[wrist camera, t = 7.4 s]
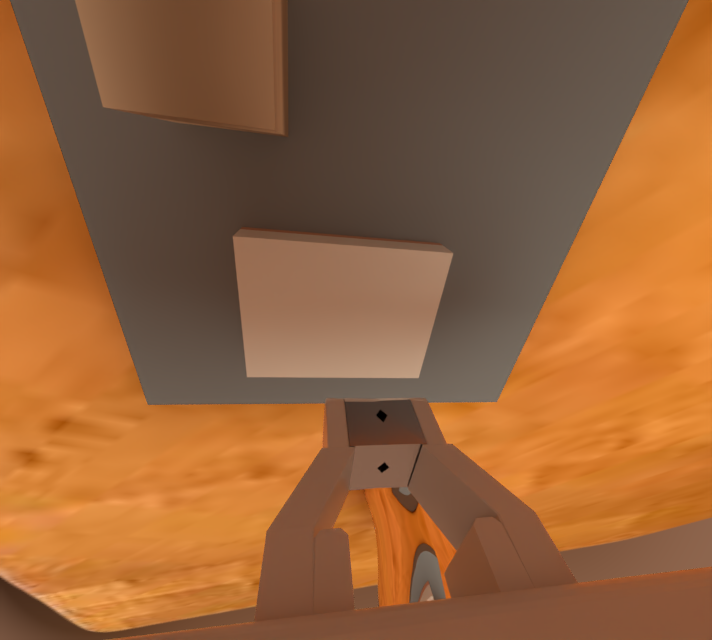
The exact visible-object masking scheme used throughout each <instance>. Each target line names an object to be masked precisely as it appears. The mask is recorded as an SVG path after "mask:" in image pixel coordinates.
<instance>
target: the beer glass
mask: <svg viewBox="0 0 712 640" xmlns="http://www.w3.org/2000/svg"><path fill="white" fill-rule="evenodd" d="M364 493H365V496H366V500H367V503H368V506H369V509H370V512H371V515H372V519H373V523H374V529H375V533H376V541H377V553H378V607H382V606H390V605H398V604H407V603H415V602H423V601H431V600H440V599H448V598H451V596H450V592H449V589H448V586H447V582H446V579H445V575H444V573H445V571H446V569H447V567H448V565H449V564H450V562H451V560H452V558H453V557H454V555H455V553H456V549H455V548H454V547H453V546H452V544H451V543H450V542H449V541H448V539H447V538H446V537H445V535H444V534H443V533H442V532H441V530H440V529H439V528H438V527H437V525H436V524H435V523H434V522H433V520H432V519H431V518H430V517H429V515H428V514H427V513H426V511H425V510H424V509H423V508H422V506H421V505H420V504H419V503H418V501H417V500H416V499H415V498H414V496H413V495H412V494H411V492H410V491H409V490H408V487H396V488H372V489H364Z"/></svg>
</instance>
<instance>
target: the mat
mask: <svg viewBox="0 0 712 640" xmlns="http://www.w3.org/2000/svg"><path fill="white" fill-rule="evenodd" d="M688 1H689V0H288V137H283V136H276V135H268V134H260V133H253V132H245V131H238V130H230V129H222V128H215V127H207V126H199V125H192V124H184V123H176V122H171V121H166V120H161V119H157V118H152V117H147V116H143V115H138V114H133V113H128V112H124V111H119V110H114V109H110V108H105V107H103V105H102V101H101V98H100V94H99V90H98V86H97V82H96V79H95V75H94V71H93V67H92V63H91V60H90V56H89V52H88V48H87V44H86V41H85V37H84V33H83V29H82V25H81V21H80V18H79V14H78V10H77V6H76V2H75V0H10V2H11V4H12V7H13V10H14V13H15V16H16V19H17V22H18V25H19V28H20V31H21V34H22V37H23V40H24V43H25V46H26V48H27V51H28V54H29V57H30V60H31V63H32V66H33V69H34V72H35V75H36V78H37V81H38V84H39V87H40V90H41V92H42V95H43V98H44V101H45V104H46V107H47V110H48V113H49V116H50V119H51V122H52V125H53V128H54V131H55V134H56V136H57V139H58V142H59V145H60V148H61V151H62V154H63V157H64V160H65V163H66V166H67V169H68V172H69V175H70V178H71V180H72V183H73V186H74V189H75V192H76V195H77V198H78V201H79V204H80V207H81V210H82V213H83V216H84V219H85V222H86V224H87V227H88V230H89V233H90V236H91V239H92V242H93V245H94V248H95V251H96V254H97V257H98V260H99V263H100V266H101V268H102V271H103V274H104V277H105V280H106V283H107V286H108V289H109V292H110V295H111V298H112V301H113V304H114V307H115V310H116V312H117V315H118V318H119V321H120V324H121V327H122V330H123V333H124V336H125V339H126V342H127V345H128V348H129V351H130V354H131V357H132V359H133V362H134V365H135V368H136V371H137V374H138V377H139V380H140V383H141V386H142V389H143V392H144V395H145V398H146V401H147V403H148V405H169V404H297V403H325V400H326V398H339V399H344V398H360V399H378V398H425V399H426V400H427V401H428V402H497V400H498V398H499V396H500V394H501V392H502V390H503V388H504V386H505V384H506V381H507V379H508V377H509V375H510V373H511V371H512V369H513V367H514V365H515V363H516V361H517V358H518V356H519V354H520V352H521V350H522V348H523V346H524V344H525V342H526V340H527V338H528V335H529V333H530V331H531V329H532V327H533V325H534V323H535V321H536V319H537V317H538V314H539V312H540V310H541V308H542V306H543V304H544V302H545V300H546V298H547V296H548V294H549V291H550V289H551V287H552V285H553V283H554V281H555V279H556V277H557V275H558V273H559V271H560V268H561V266H562V264H563V262H564V260H565V258H566V256H567V254H568V252H569V250H570V248H571V245H572V243H573V241H574V239H575V237H576V235H577V233H578V231H579V229H580V227H581V224H582V222H583V220H584V218H585V216H586V214H587V212H588V210H589V208H590V206H591V204H592V201H593V199H594V197H595V195H596V193H597V191H598V189H599V187H600V185H601V183H602V181H603V178H604V176H605V174H606V172H607V170H608V168H609V166H610V164H611V162H612V160H613V158H614V155H615V153H616V151H617V149H618V147H619V145H620V143H621V141H622V139H623V137H624V134H625V132H626V130H627V128H628V126H629V124H630V122H631V120H632V118H633V116H634V114H635V111H636V109H637V107H638V105H639V103H640V101H641V99H642V97H643V95H644V93H645V91H646V88H647V86H648V84H649V82H650V80H651V78H652V76H653V74H654V72H655V70H656V67H657V65H658V63H659V61H660V59H661V57H662V55H663V53H664V51H665V49H666V47H667V44H668V42H669V40H670V38H671V36H672V34H673V32H674V30H675V28H676V26H677V24H678V21H679V19H680V17H681V15H682V13H683V11H684V9H685V7H686V5H687V3H688ZM242 227H249V228H261V229H273V230H285V231H298V232H310V233H322V234H334V235H346V236H359V237H371V238H383V239H395V240H407V241H420V242H432V243H440V244H442V245H443V246H444V247H446V248H447V249H448V250H450V251H451V252H452V253H453V257H452V260H451V264H450V267H449V271H448V275H447V278H446V282H445V285H444V289H443V292H442V296H441V300H440V303H439V307H438V310H437V314H436V318H435V321H434V325H433V328H432V332H431V335H430V339H429V343H428V346H427V350H426V353H425V357H424V360H423V364H422V368H421V371H420V375H419V378H297V377H247V373H246V363H245V353H244V343H243V333H242V323H241V313H240V303H239V293H238V284H237V274H236V264H235V254H234V244H233V235H234V234H236V233H237V232H238V231H239V230H240V229H241V228H242Z"/></svg>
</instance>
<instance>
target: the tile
mask: <svg viewBox="0 0 712 640" xmlns="http://www.w3.org/2000/svg"><path fill="white" fill-rule="evenodd" d="M233 244H234V254H235V264H236V274H237V284H238V293H239V303H240V313H241V323H242V333H243V343H244V353H245V363H246V373H247V377H297V378H419V375H420V371H421V368H422V364H423V360H424V357H425V353H426V350H427V346H428V343H429V339H430V335H431V332H432V328H433V325H434V321H435V318H436V314H437V310H438V307H439V303H440V300H441V296H442V292H443V289H444V285H445V282H446V278H447V275H448V271H449V267H450V264H451V260H452V257H453V253H452V252H451V251H450V250H448V249H447V248H446V247H444V246H443V245H442V244H440V243H432V242H420V241H407V240H395V239H383V238H371V237H359V236H346V235H334V234H322V233H310V232H298V231H285V230H273V229H261V228H249V227H242V228H241V229H240V230H239V231H238V232H237V233H236V234H234V235H233Z"/></svg>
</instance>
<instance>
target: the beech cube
mask: <svg viewBox="0 0 712 640" xmlns="http://www.w3.org/2000/svg"><path fill="white" fill-rule="evenodd" d="M75 2H76V6H77V10H78V14H79V18H80V21H81V25H82V29H83V33H84V37H85V41H86V44H87V48H88V52H89V56H90V60H91V63H92V67H93V71H94V75H95V79H96V82H97V86H98V90H99V94H100V98H101V101H102V105H103V107H105V108H110V109H114V110H119V111H124V112H128V113H133V114H138V115H143V116H147V117H152V118H157V119H161V120H166V121H171V122H176V123H184V124H192V125H199V126H207V127H215V128H222V129H230V130H238V131H245V132H253V133H260V134H268V135H276V136H283V137H288V0H75Z"/></svg>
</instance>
